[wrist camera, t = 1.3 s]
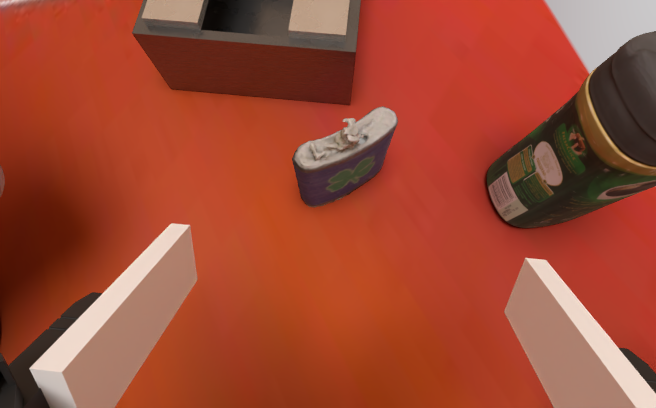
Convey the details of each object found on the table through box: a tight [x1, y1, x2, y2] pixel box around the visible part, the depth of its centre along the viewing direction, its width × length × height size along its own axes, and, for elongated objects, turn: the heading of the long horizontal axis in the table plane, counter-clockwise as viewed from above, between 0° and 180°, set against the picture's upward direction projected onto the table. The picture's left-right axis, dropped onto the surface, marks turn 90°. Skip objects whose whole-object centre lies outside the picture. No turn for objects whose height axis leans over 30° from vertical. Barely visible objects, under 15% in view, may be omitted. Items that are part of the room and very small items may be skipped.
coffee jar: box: [487, 31, 656, 228], centre depth 26 cm, size 10×8×19 cm
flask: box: [292, 106, 398, 207], centre depth 30 cm, size 9×3×11 cm, turn 119°
